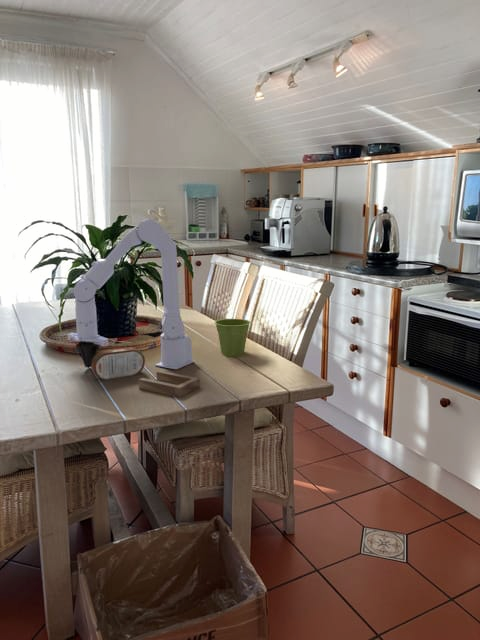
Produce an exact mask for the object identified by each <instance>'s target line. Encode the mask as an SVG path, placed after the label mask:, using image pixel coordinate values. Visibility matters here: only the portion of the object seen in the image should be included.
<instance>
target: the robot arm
mask: <svg viewBox="0 0 480 640" xmlns="http://www.w3.org/2000/svg"><path fill="white" fill-rule="evenodd" d="M142 242H145V243H147V244H150V245H152V246H153V247H154V248H155V249H157V250H158V251H159V252H160V258H161V262H160V263H161V277H162V295H163V296H162V298H163V315H162V317H161V321H160V322H161V323H160V324H161V327H162V333H161V334H160V353H161V354H160V360H161V361H160V362H158V363H155V367H161V368H166V369H171V370H178V369H180V368H183V367H185V366H187V365H190V364H192V363H195V360H193V359H192V358H193V357H192V356H193V355H192V350H193V349H192V340H191V337H190V336H189V335H188V334H186V333H185V332H184V330H185V325H184V322H183V320H182V316H181V310H180V299H179V298H180V297H179V296H180V295H179V276H178V274H179V273H178V257H177V256H178V254H177V244H176V242H175V241H174V240H173V238H172V237H171V236H170V234H169V233H168V232H167V230H166V228H164V226H163V225H161V224H160V223H159V222H157V221H156V220H154V219H152V218H145V219H143V220H141V221H140V222H139V224H138V225H136V226H135V227H133V228H132V229H131V230H129V231H128V232H127V233H126V234H125V235H124V236H123V238H122V239H121V240H120V241H119V242H118V244H116V246H115V247H114V248H113V249H112V250H111V251H110V253H109V254H108V255H107V256H106V257H105V258H102V259H101V258H98V259H97V260H96V261H95V260H94V261H92V262H91V267H90V268H89V269H88V270H87V271H86V273H84V274H82V275H81V276H80V280H79V281H78V282H76V284H75V285H74V286H73V292H72V293H73V296H74V302H75V306H74V307H75V323H76V332H70V333H67V340H68V341H76V342H78V343H76V344H75V348H76V349H77V350H78V352H79V354H80V356H81V359H82V361H83V365H84V366H85V368H91V362H92V359H93V358H94V356H95V355H96V354H97V353H98V350H99V348H100V346H101V347H107V346H109V338H107V337H104V336H101V335H100V334H98V320H97V319H98V318H97V306H96V305H97V304H96V301H95V300H96V298H95V295H96V292H97V290H100V289H101V288H102V287H103V286H104V285H105V283H107V281H108V280H109V279H110V278H111V277H112V276H113V275H114V273H115V265H116V264H117V263H118V262H120V260H121V259H122V258H123V257H124V256H125V255H126V253H128V252H129V250H131V248H132V247H135V246H139V245H141V244H142Z"/></svg>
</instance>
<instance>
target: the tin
mask: <svg viewBox="0 0 480 640" xmlns="http://www.w3.org/2000/svg"><path fill="white" fill-rule="evenodd" d="M145 364H146V359H145V355H144V354H143V353H142V351H140V349H138V348H136V347H134V346H127V347H119V348H112V349H111V348H110V349H103V350H101V351H97V353H96V355H95V356H94V358H93V359H92V362H91V367H90V368H91V369H90V370H91V372H92V373H93V374H94V375H95V376H96V377H97V378H98V379H100V380H103V381H108V380H113V379H118V378H125V377H131V376H136V375H138V374H140V373H141V372H142V370H143V369H144V368H145Z"/></svg>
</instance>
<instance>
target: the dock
mask: <svg viewBox="0 0 480 640" xmlns="http://www.w3.org/2000/svg"><path fill="white" fill-rule="evenodd" d="M155 374H156V380H155V379H154V380H153V379H148V378H145V377H141V378H138V389H140V390H144V391H149V392H154V393H157V394H162V395H167V396H171V397H177V398H182V397H183V396H185V395H187V394H189V393H192V392H193V391H194V390H198V389H199V388H201V383H200V381H201V379H200V378H198V377H195V376H190V375H184V374H179V373H173V372H168V371H164V370H158V371H156V373H155Z"/></svg>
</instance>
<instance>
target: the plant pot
mask: <svg viewBox="0 0 480 640" xmlns="http://www.w3.org/2000/svg"><path fill="white" fill-rule="evenodd" d="M213 323H214V324H215V326H216V331H217V334H218V341H219V348H220V352H221V355H223V356H225V357H240V356H243V355H244V354H245V349H246V343H247V337H248V331H249V328H250V325H251V323H252V321H250V320H248V319H242V318H221V319H217V320H215V321H214V322H213Z"/></svg>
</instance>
